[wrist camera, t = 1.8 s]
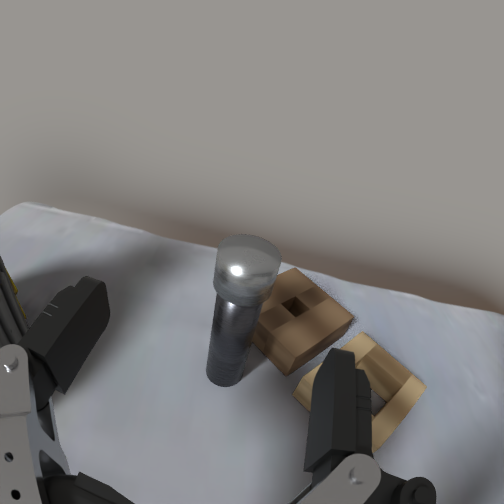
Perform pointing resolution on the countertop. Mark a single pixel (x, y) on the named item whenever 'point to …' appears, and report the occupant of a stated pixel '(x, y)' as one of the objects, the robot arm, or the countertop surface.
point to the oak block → (375, 386)
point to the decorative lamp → (10, 311)
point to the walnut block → (298, 322)
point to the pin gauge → (239, 302)
